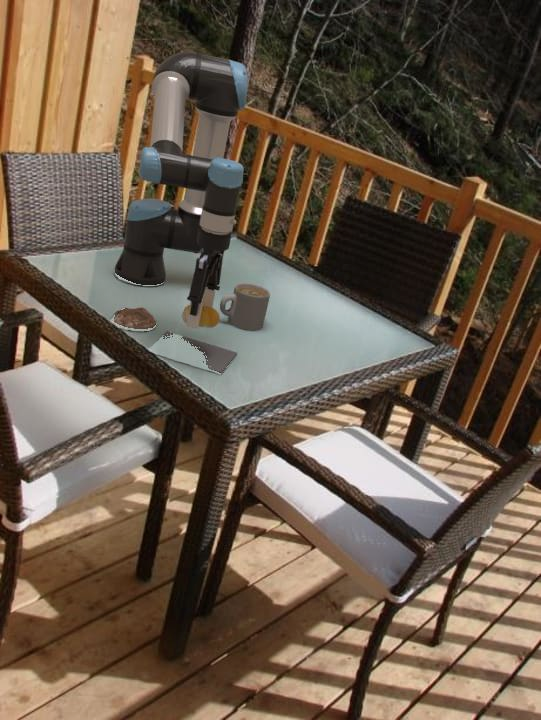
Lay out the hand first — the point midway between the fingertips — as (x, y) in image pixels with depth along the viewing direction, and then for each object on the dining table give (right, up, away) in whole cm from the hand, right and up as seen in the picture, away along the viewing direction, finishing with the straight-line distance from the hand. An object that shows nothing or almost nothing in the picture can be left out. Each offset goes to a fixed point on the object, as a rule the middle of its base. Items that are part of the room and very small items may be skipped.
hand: (198, 320), depth 172 cm
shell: (-18, 0, +13) cm, 23 cm away
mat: (-2, -8, +4) cm, 9 cm away
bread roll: (0, -1, 0) cm, 1 cm away
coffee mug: (+8, +1, +28) cm, 29 cm away
